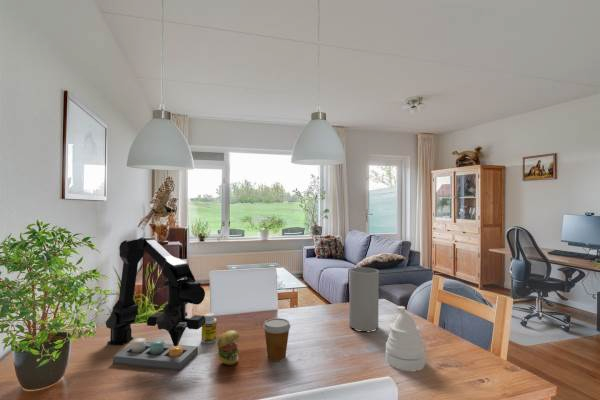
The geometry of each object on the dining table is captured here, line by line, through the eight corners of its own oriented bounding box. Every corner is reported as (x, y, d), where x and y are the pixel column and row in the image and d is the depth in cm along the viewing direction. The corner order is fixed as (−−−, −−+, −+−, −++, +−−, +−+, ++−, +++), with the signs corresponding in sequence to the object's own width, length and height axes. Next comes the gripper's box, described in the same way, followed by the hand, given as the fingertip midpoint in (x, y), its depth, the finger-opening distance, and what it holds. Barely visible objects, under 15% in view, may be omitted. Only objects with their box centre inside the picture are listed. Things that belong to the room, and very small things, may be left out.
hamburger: (234, 369, 103) (234, 331, 104) (213, 367, 104) (213, 330, 105) (242, 358, 111) (242, 323, 111) (222, 356, 112) (223, 321, 112)
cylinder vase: (356, 320, 149) (357, 266, 150) (382, 326, 142) (383, 269, 142) (344, 328, 139) (344, 270, 140) (371, 335, 132) (371, 274, 132)
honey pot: (377, 356, 113) (378, 305, 114) (406, 350, 118) (406, 301, 119) (403, 374, 101) (403, 317, 102) (433, 366, 106) (433, 312, 107)
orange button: (166, 360, 107) (166, 350, 107) (173, 354, 111) (173, 345, 111) (178, 361, 106) (178, 351, 106) (185, 355, 111) (185, 346, 111)
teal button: (147, 353, 108) (147, 344, 108) (155, 348, 112) (155, 339, 112) (159, 355, 107) (159, 345, 107) (166, 349, 112) (166, 340, 112)
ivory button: (128, 352, 109) (128, 342, 109) (137, 346, 114) (137, 337, 114) (140, 353, 109) (140, 343, 109) (148, 347, 113) (148, 338, 113)
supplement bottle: (203, 345, 121) (204, 317, 121) (199, 339, 126) (200, 313, 126) (218, 341, 124) (218, 315, 124) (213, 336, 129) (214, 311, 129)
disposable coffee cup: (293, 353, 115) (294, 319, 115) (284, 365, 106) (284, 329, 106) (269, 349, 118) (270, 316, 118) (258, 360, 109) (258, 325, 109)
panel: (112, 363, 106) (112, 356, 106) (136, 348, 118) (137, 340, 118) (179, 370, 102) (179, 362, 102) (197, 353, 114) (198, 346, 114)
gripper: (136, 305, 103) (135, 354, 102) (190, 309, 100) (189, 359, 99) (157, 295, 114) (156, 340, 113) (206, 298, 111) (205, 344, 110)
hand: (176, 345), depth 109 cm, fingers closed
